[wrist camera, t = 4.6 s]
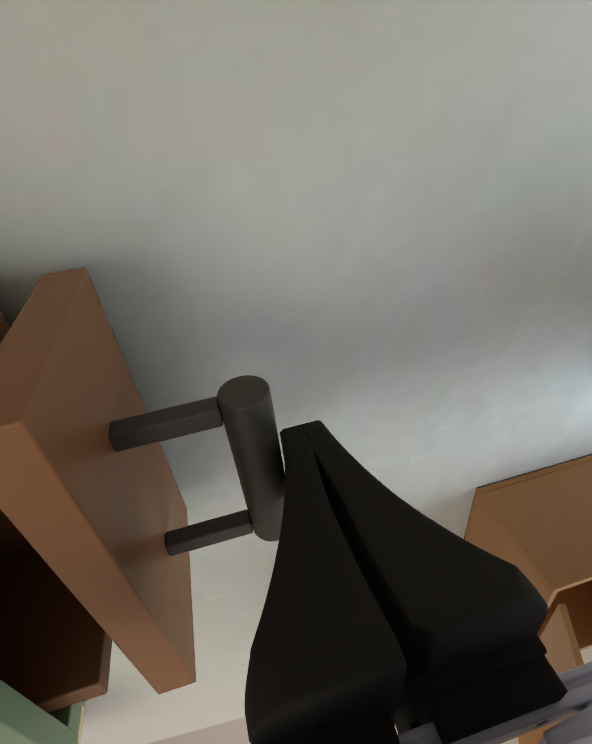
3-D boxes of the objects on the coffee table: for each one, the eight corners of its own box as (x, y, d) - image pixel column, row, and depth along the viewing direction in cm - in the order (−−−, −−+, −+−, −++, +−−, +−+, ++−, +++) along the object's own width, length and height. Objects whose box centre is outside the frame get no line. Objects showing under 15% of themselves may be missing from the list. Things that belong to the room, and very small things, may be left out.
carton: (452, 584, 33) (512, 691, 27) (476, 488, 26) (564, 604, 20) (605, 534, 35) (691, 623, 29) (666, 432, 28) (795, 523, 22)
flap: (514, 690, 27) (509, 689, 27) (565, 604, 20) (558, 603, 20) (543, 845, 22) (537, 843, 22) (626, 802, 15) (617, 800, 15)
